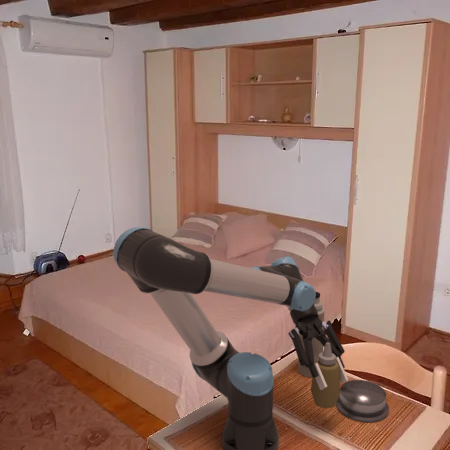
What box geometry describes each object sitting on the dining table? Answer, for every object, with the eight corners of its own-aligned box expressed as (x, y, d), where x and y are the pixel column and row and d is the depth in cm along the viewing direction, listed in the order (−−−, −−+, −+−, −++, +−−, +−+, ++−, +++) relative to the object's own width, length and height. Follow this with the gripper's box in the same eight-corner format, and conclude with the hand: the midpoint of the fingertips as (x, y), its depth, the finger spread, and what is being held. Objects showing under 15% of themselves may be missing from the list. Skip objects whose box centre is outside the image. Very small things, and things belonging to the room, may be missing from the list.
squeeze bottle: (340, 413, 132) (343, 351, 128) (309, 409, 133) (312, 348, 129) (339, 396, 139) (342, 338, 135) (310, 393, 141) (313, 335, 137)
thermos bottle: (299, 364, 170) (301, 288, 164) (322, 366, 168) (325, 289, 162) (297, 375, 163) (299, 296, 156) (321, 378, 161) (324, 298, 154)
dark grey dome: (340, 422, 138) (341, 406, 137) (332, 392, 153) (333, 377, 152) (395, 423, 138) (396, 407, 136) (381, 393, 152) (382, 378, 151)
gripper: (321, 306, 149) (355, 380, 139) (267, 318, 141) (298, 398, 130) (334, 296, 143) (369, 372, 133) (278, 307, 135) (311, 390, 124)
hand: (334, 384), depth 132 cm, fingers closed on squeeze bottle, 6 cm apart
